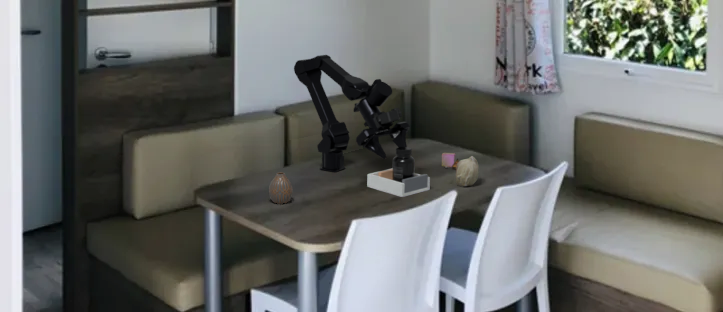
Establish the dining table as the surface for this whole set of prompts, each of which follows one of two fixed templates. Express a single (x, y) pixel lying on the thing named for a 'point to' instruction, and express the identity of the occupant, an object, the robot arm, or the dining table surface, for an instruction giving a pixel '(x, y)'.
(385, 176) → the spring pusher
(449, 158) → the perfume bottle
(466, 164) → the garlic bulb
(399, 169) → the supplement bottle
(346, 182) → the dining table surface
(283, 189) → the vase
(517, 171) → the dining table surface
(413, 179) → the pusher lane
